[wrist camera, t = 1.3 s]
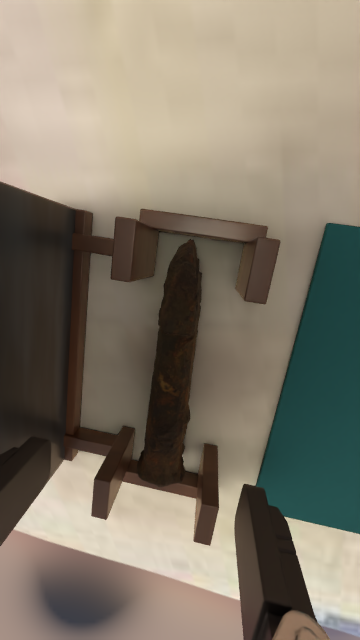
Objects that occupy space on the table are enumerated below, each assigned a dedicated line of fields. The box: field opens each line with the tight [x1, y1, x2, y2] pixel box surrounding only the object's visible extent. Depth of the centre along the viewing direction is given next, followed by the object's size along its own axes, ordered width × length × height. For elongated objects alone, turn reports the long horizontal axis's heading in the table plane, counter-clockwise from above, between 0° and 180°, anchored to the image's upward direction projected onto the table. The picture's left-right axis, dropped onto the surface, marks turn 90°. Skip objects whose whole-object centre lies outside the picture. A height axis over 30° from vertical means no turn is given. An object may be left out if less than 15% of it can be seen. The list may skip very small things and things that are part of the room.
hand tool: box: [137, 239, 202, 487], centre depth 20 cm, size 19×4×5 cm, turn 170°
